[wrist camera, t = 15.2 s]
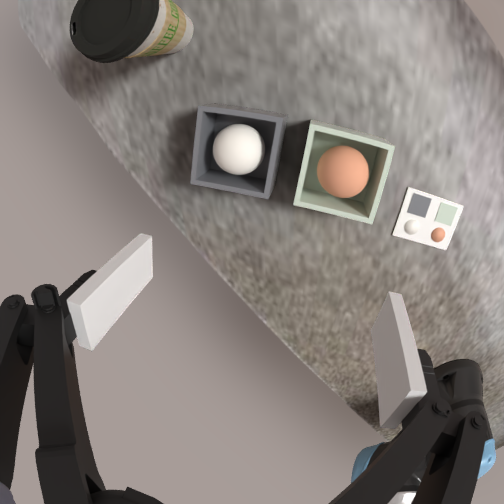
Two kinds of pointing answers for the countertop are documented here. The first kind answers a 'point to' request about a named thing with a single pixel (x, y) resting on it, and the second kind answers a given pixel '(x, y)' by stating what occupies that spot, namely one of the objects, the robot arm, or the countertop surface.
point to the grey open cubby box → (208, 128)
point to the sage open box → (373, 151)
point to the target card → (427, 219)
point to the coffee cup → (128, 28)
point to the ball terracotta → (343, 171)
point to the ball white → (238, 149)
